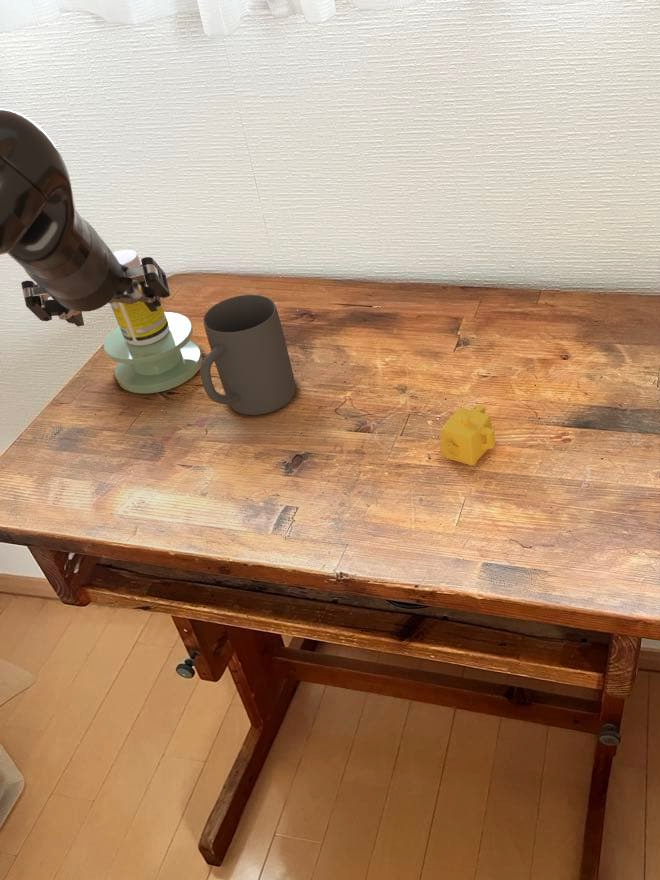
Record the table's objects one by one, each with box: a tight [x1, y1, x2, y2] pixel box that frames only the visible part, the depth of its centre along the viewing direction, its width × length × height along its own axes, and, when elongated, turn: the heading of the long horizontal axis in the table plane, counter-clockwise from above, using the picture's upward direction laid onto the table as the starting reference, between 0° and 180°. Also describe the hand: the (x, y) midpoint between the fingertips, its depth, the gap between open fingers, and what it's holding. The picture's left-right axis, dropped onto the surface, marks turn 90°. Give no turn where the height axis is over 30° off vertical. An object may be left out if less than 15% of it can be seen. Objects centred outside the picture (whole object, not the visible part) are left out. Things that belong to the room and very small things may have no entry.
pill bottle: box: [109, 249, 169, 346], centre depth 108 cm, size 6×6×11 cm
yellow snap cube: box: [439, 405, 497, 467], centre depth 93 cm, size 8×6×5 cm
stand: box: [103, 311, 204, 394], centre depth 114 cm, size 12×12×5 cm
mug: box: [199, 294, 296, 416], centre depth 103 cm, size 14×9×12 cm
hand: (116, 310), depth 96 cm, fingers open, 8 cm apart
